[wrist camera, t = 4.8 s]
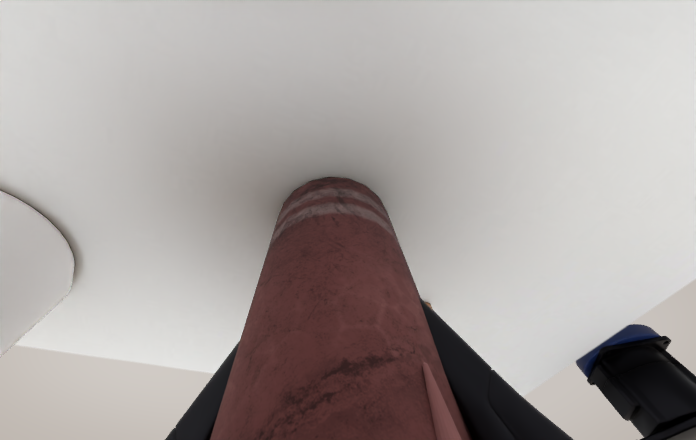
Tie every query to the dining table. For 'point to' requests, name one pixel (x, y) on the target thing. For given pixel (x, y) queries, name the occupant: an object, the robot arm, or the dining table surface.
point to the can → (337, 332)
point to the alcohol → (29, 269)
